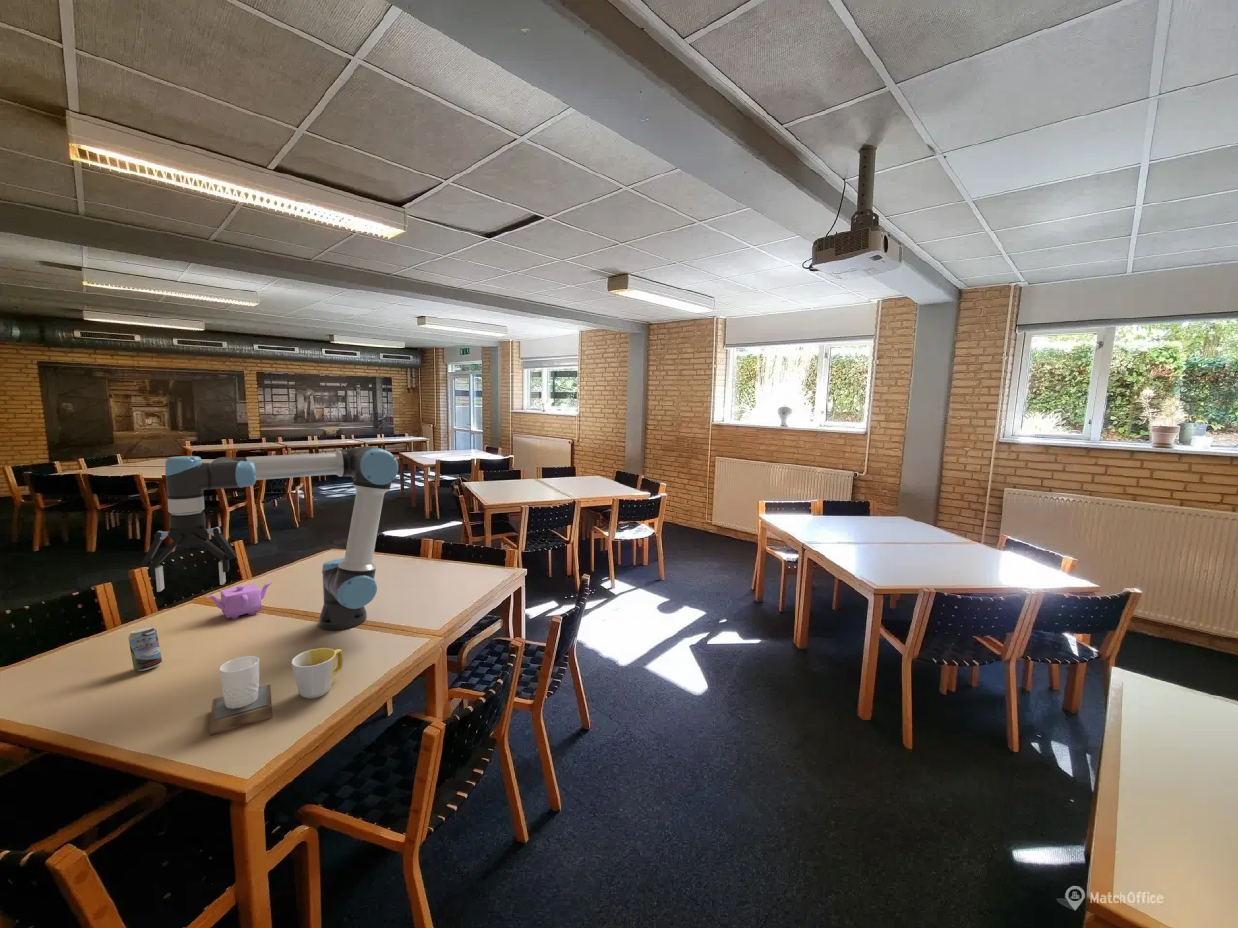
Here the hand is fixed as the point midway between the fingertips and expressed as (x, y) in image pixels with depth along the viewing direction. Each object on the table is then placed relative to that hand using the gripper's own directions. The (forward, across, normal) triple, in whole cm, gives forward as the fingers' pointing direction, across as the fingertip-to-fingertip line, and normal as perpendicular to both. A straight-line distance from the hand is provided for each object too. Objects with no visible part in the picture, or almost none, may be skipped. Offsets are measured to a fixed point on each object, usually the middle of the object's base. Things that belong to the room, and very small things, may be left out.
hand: (192, 586), depth 138 cm
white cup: (+24, -15, +26) cm, 38 cm away
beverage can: (+27, +15, -12) cm, 33 cm away
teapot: (+27, -1, -47) cm, 54 cm away
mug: (+27, -32, +22) cm, 47 cm away
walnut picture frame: (+27, -15, +26) cm, 40 cm away
